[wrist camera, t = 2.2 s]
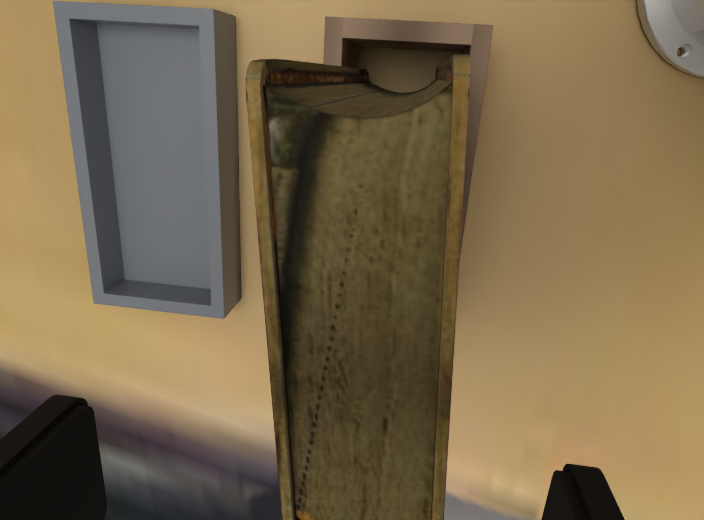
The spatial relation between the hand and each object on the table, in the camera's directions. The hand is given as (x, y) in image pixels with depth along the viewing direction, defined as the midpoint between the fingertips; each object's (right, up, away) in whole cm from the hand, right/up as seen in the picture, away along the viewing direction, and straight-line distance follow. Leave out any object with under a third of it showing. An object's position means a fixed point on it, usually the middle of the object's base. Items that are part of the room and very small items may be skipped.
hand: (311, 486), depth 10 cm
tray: (-14, +12, +30) cm, 35 cm away
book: (+4, +10, +28) cm, 30 cm away
